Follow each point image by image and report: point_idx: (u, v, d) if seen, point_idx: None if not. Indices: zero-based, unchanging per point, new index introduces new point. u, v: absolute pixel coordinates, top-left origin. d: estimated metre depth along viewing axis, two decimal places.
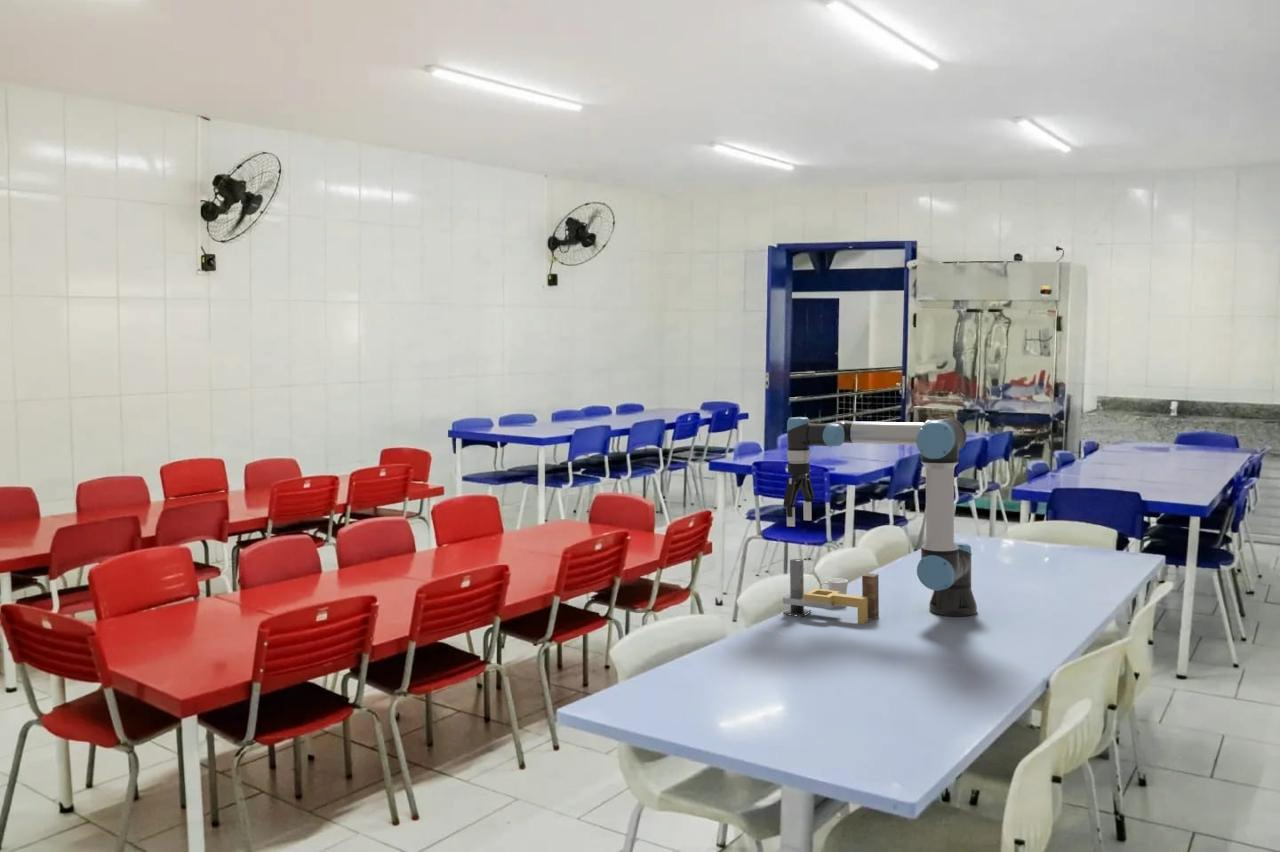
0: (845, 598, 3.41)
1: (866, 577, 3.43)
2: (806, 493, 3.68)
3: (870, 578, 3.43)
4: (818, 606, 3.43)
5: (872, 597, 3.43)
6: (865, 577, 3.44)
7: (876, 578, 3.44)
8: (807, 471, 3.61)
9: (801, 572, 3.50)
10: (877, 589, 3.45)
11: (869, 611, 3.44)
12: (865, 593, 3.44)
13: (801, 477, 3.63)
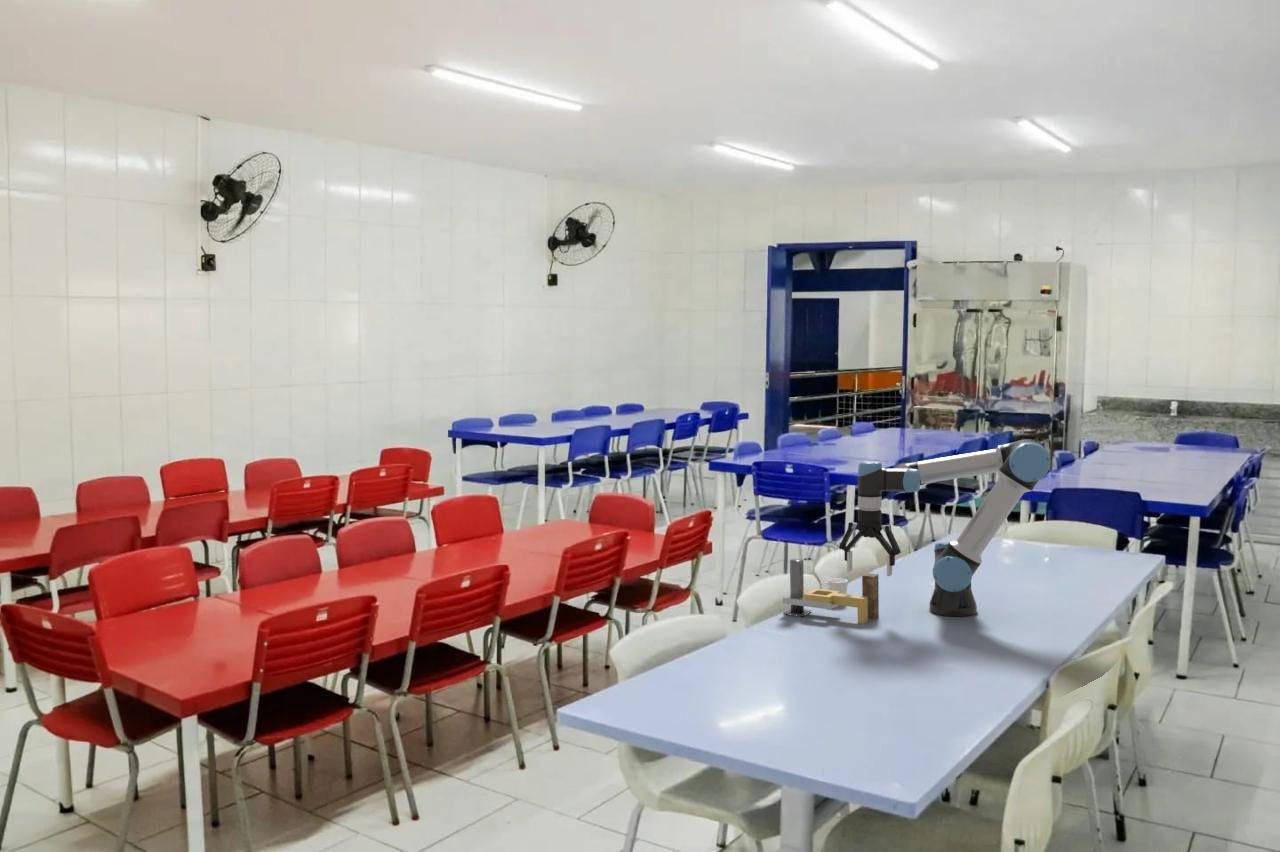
0: (845, 598, 3.41)
1: (867, 577, 3.43)
2: None
3: (870, 578, 3.43)
4: (818, 606, 3.43)
5: (872, 597, 3.43)
6: (865, 577, 3.44)
7: (876, 578, 3.44)
8: (863, 519, 3.41)
9: (801, 572, 3.50)
10: (877, 589, 3.45)
11: (869, 611, 3.44)
12: (865, 593, 3.44)
13: (867, 525, 3.43)
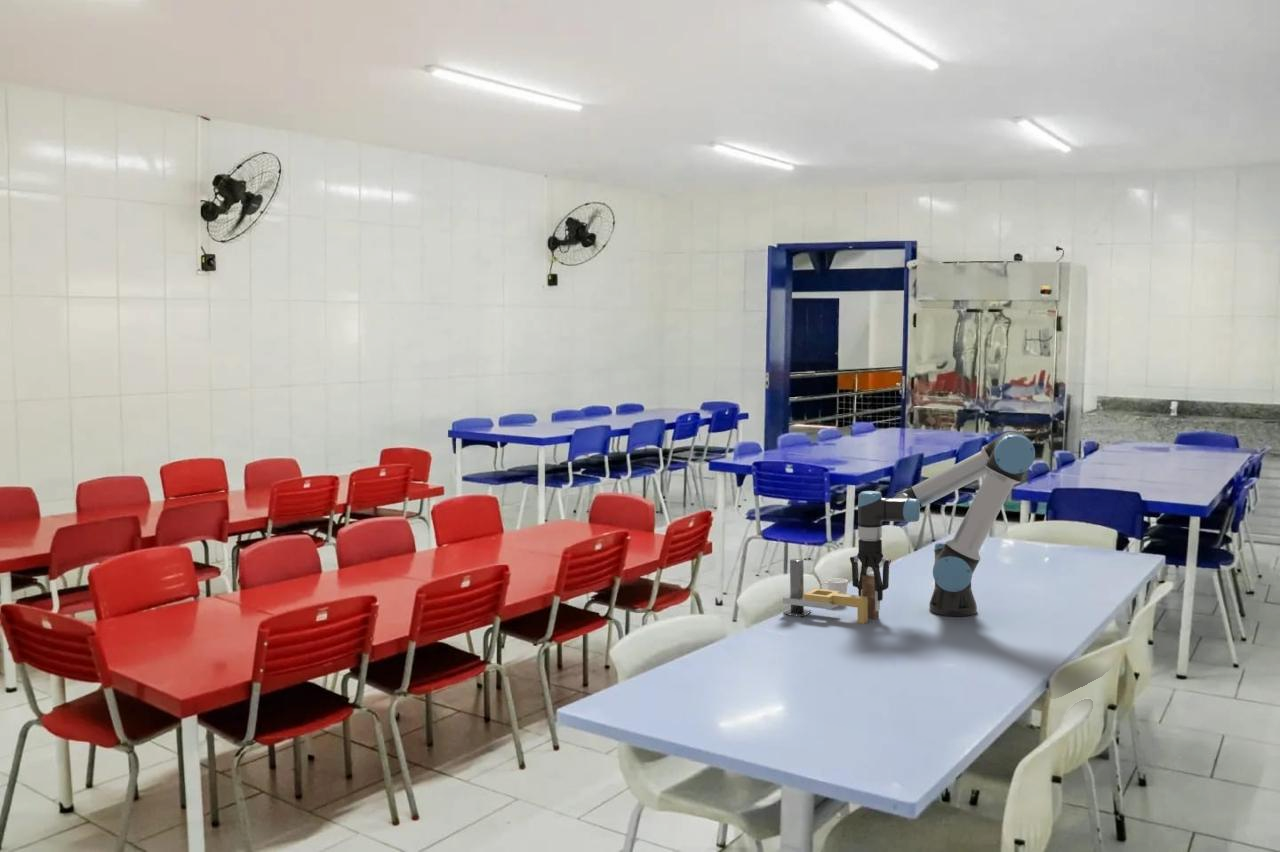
0: (845, 598, 3.41)
1: (866, 577, 3.43)
2: None
3: (870, 578, 3.43)
4: (818, 606, 3.43)
5: (872, 597, 3.43)
6: (865, 577, 3.44)
7: None
8: (863, 549, 3.42)
9: (801, 572, 3.50)
10: None
11: (869, 611, 3.44)
12: (865, 593, 3.44)
13: (868, 555, 3.43)
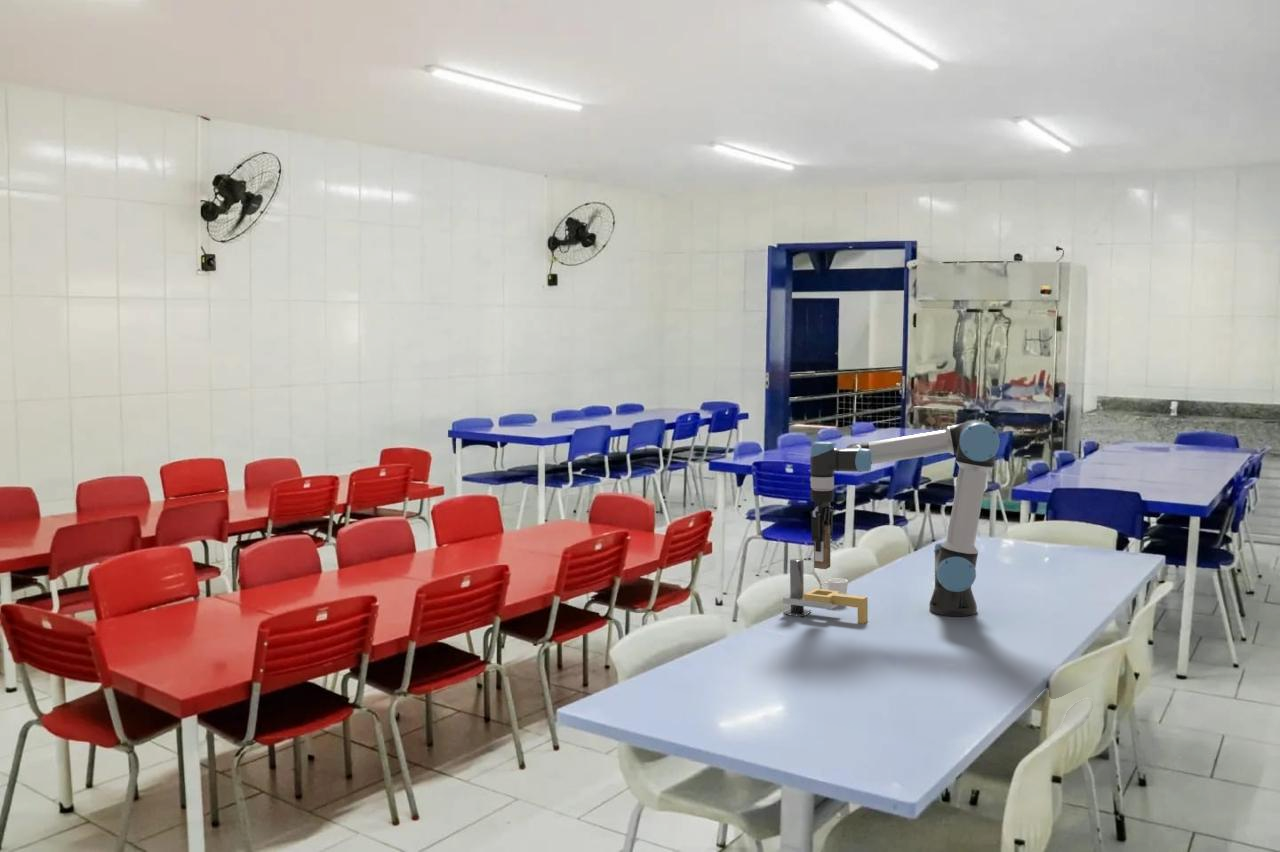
0: (845, 598, 3.41)
1: (827, 527, 3.44)
2: None
3: (828, 527, 3.45)
4: (818, 606, 3.43)
5: (829, 545, 3.46)
6: (826, 527, 3.44)
7: None
8: (831, 499, 3.42)
9: (801, 572, 3.50)
10: None
11: (828, 560, 3.45)
12: (826, 544, 3.44)
13: (825, 505, 3.44)
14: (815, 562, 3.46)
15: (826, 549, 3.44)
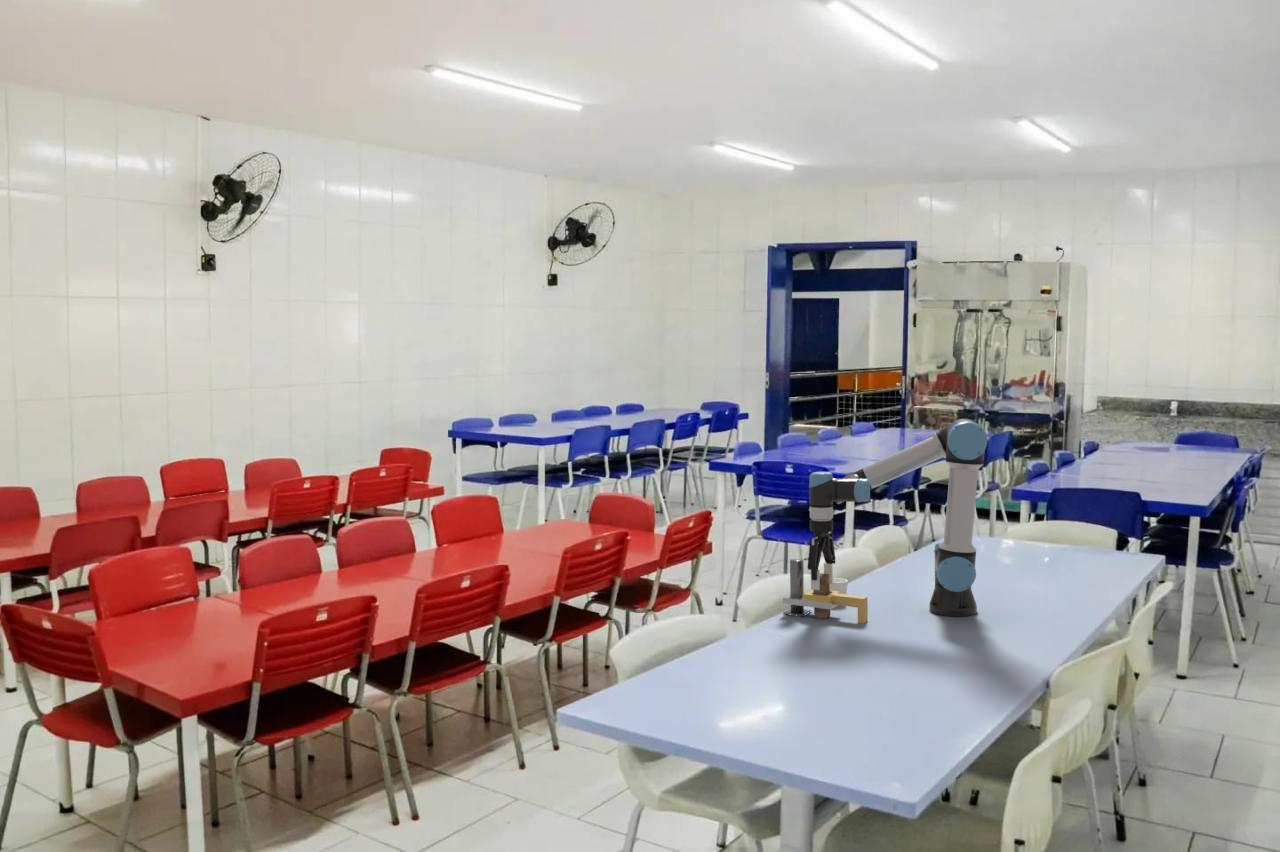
0: (845, 598, 3.41)
1: (826, 577, 3.45)
2: (828, 553, 3.49)
3: (827, 577, 3.46)
4: (818, 606, 3.43)
5: None
6: (825, 577, 3.44)
7: None
8: (830, 529, 3.43)
9: (801, 572, 3.50)
10: None
11: (828, 609, 3.47)
12: (826, 594, 3.45)
13: (824, 535, 3.45)
14: (815, 612, 3.47)
15: None
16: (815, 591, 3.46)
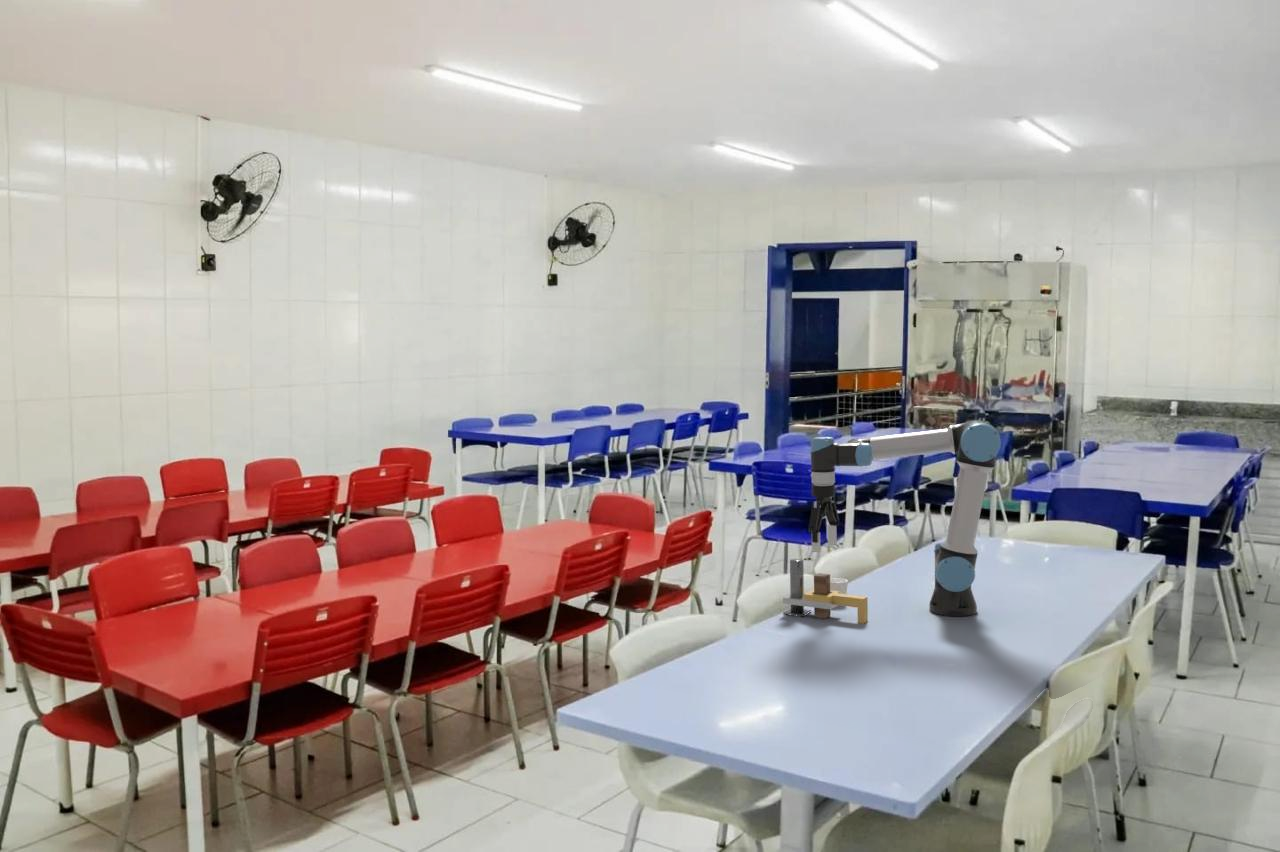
0: (845, 598, 3.41)
1: (827, 576, 3.45)
2: (831, 516, 3.49)
3: (828, 577, 3.46)
4: (818, 606, 3.43)
5: None
6: (826, 577, 3.45)
7: None
8: (832, 494, 3.43)
9: (801, 572, 3.50)
10: None
11: (828, 610, 3.47)
12: (826, 593, 3.45)
13: (826, 500, 3.45)
14: (815, 611, 3.47)
15: None
16: (816, 591, 3.46)
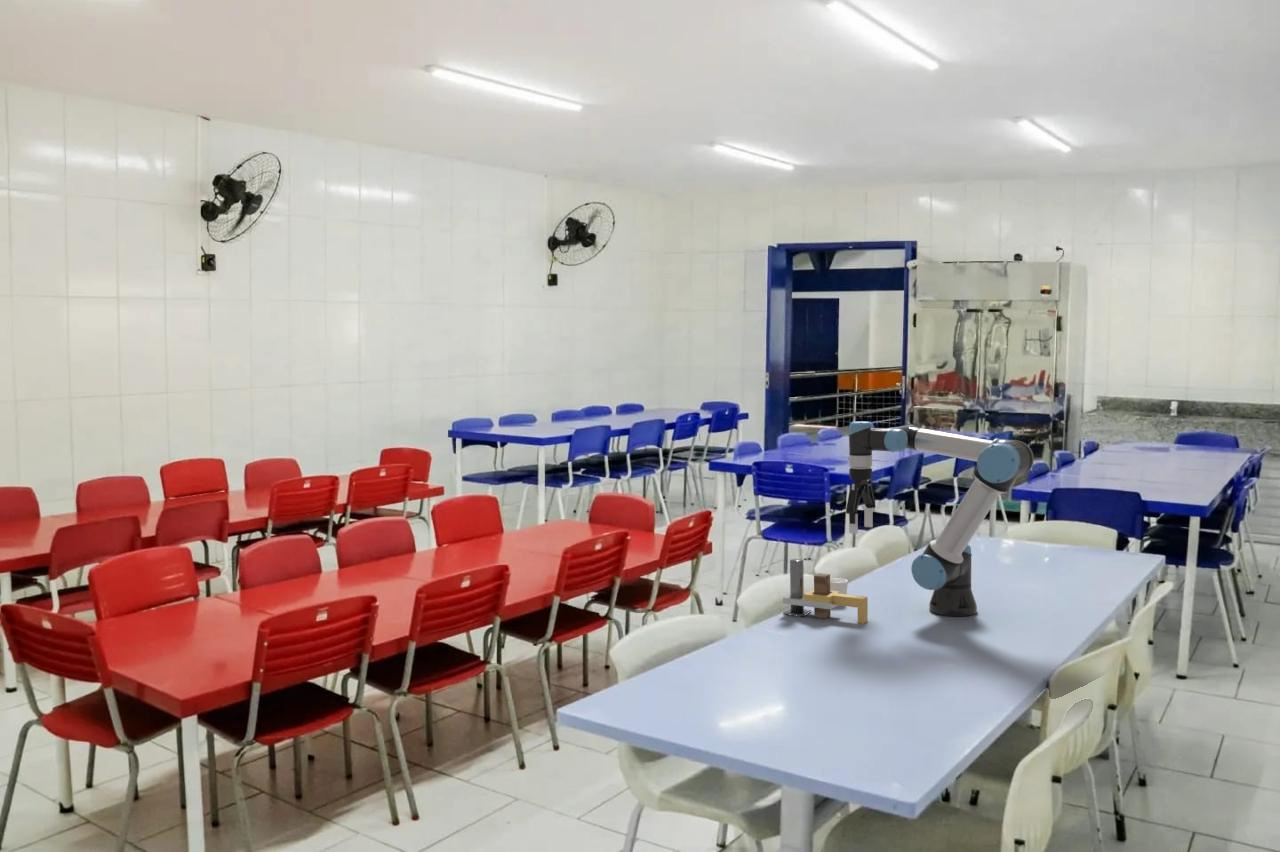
0: (845, 598, 3.41)
1: (827, 576, 3.45)
2: (867, 499, 3.59)
3: (828, 577, 3.46)
4: (818, 606, 3.43)
5: None
6: (826, 577, 3.45)
7: None
8: (870, 477, 3.52)
9: (801, 572, 3.50)
10: None
11: (828, 610, 3.47)
12: (826, 593, 3.45)
13: (863, 483, 3.54)
14: (815, 611, 3.47)
15: None
16: (816, 591, 3.46)
